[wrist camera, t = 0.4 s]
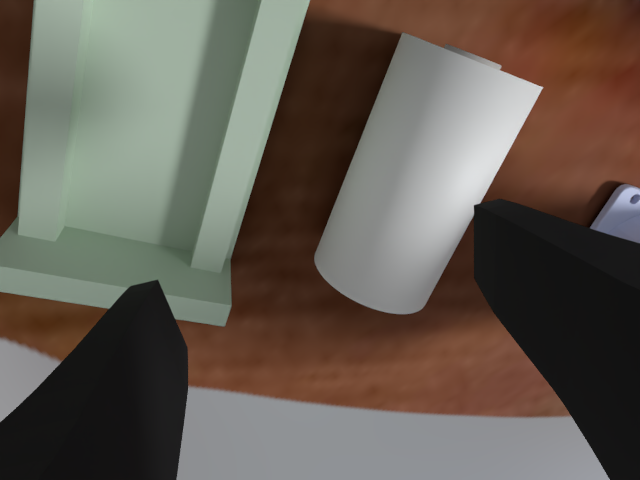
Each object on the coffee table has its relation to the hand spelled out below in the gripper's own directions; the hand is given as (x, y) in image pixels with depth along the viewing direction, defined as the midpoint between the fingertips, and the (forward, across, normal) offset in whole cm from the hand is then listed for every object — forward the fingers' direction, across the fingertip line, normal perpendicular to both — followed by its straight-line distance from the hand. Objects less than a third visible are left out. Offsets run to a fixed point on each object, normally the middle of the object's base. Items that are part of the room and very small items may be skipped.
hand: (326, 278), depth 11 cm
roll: (+7, -4, +2) cm, 9 cm away
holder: (+9, +4, -3) cm, 11 cm away
